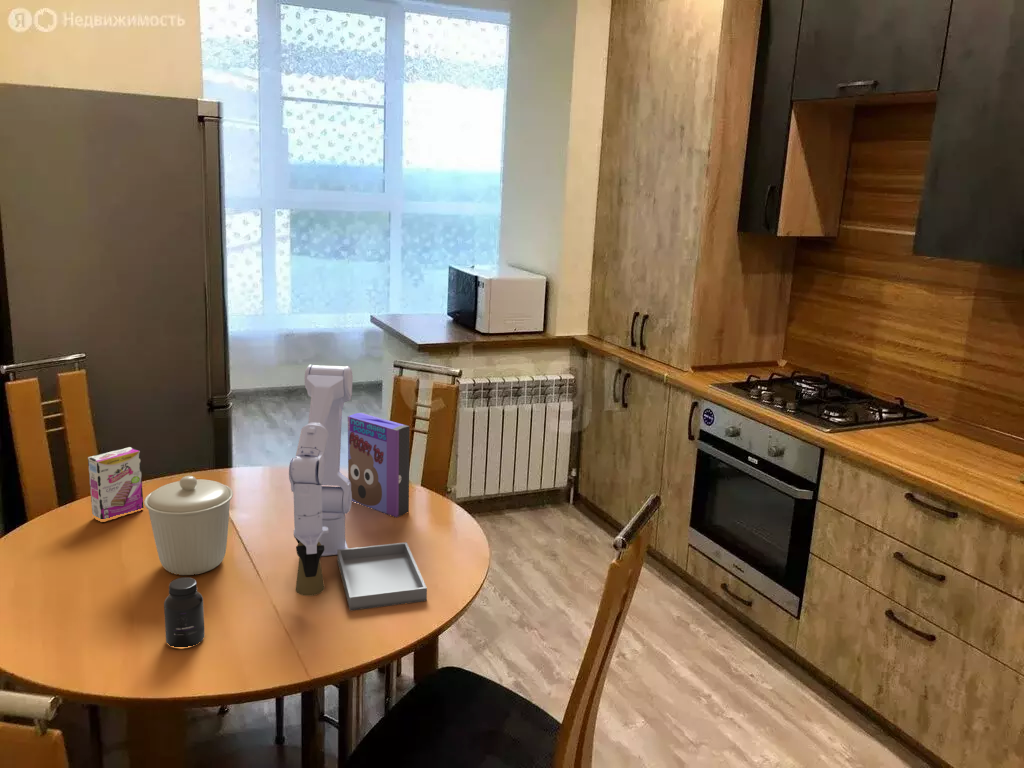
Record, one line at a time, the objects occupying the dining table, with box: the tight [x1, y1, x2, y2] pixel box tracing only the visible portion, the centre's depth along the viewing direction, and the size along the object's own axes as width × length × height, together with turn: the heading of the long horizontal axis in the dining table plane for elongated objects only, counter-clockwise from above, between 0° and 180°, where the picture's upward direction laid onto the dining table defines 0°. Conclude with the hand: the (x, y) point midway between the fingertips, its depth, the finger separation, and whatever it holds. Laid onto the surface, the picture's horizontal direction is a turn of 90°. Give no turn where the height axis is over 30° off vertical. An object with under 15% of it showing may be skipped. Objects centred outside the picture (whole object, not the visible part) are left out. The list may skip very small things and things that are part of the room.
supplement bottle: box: [163, 576, 206, 647], centre depth 152 cm, size 7×7×12 cm
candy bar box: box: [87, 446, 145, 519], centre depth 203 cm, size 11×5×16 cm, turn 144°
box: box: [336, 542, 428, 612], centre depth 178 cm, size 16×22×3 cm
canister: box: [143, 475, 234, 576], centre depth 179 cm, size 18×18×21 cm
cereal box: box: [347, 412, 411, 519], centre depth 214 cm, size 17×5×24 cm, turn 55°
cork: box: [295, 542, 325, 597], centre depth 172 cm, size 6×6×11 cm
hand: (309, 569), depth 172 cm, fingers closed on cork, 5 cm apart
